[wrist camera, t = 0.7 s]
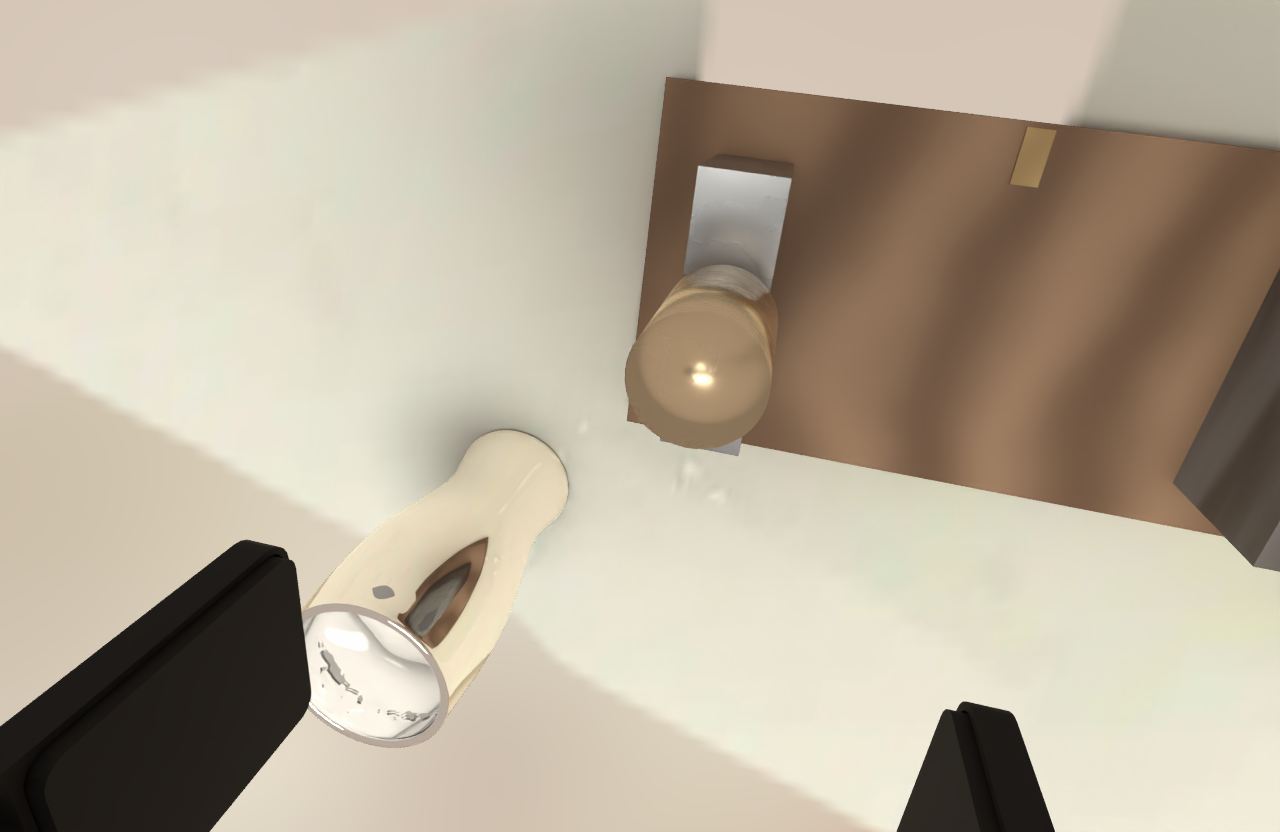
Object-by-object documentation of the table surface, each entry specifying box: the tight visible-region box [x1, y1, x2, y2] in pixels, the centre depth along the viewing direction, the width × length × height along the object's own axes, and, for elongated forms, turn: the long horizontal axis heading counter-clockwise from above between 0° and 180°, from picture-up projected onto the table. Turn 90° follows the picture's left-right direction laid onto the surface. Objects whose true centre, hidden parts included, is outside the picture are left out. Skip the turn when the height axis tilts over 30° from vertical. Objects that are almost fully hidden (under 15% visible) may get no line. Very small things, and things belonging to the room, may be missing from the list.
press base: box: [627, 77, 1280, 572], centre depth 27 cm, size 28×15×8 cm, turn 84°
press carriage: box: [625, 154, 794, 456], centre depth 25 cm, size 4×10×12 cm, turn 174°
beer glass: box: [301, 430, 568, 748], centre depth 32 cm, size 7×7×15 cm
